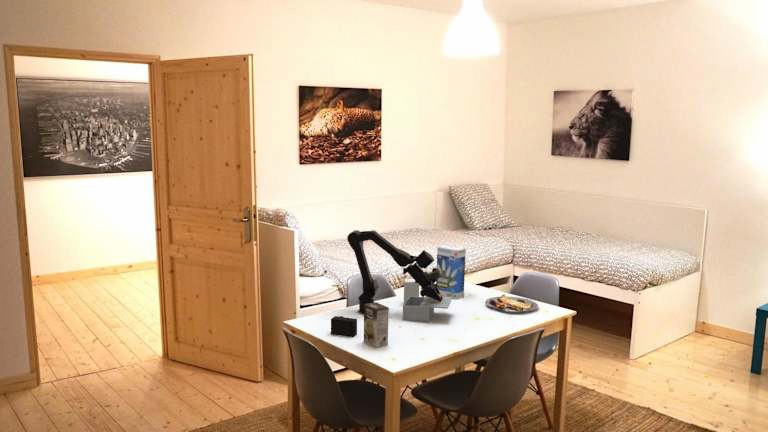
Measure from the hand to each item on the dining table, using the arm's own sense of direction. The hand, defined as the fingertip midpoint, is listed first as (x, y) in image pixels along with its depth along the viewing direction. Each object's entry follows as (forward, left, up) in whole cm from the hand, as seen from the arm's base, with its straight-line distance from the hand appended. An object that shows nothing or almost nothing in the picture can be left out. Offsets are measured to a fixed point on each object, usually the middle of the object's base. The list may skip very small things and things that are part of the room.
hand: (441, 300), depth 297 cm
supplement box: (+2, +24, -9) cm, 26 cm away
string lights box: (+29, +25, -9) cm, 40 cm away
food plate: (+40, -7, -9) cm, 42 cm away
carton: (-7, +8, -9) cm, 14 cm away
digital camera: (-48, +8, -9) cm, 50 cm away
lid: (-2, +2, -1) cm, 3 cm away
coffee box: (-45, -10, -9) cm, 47 cm away
